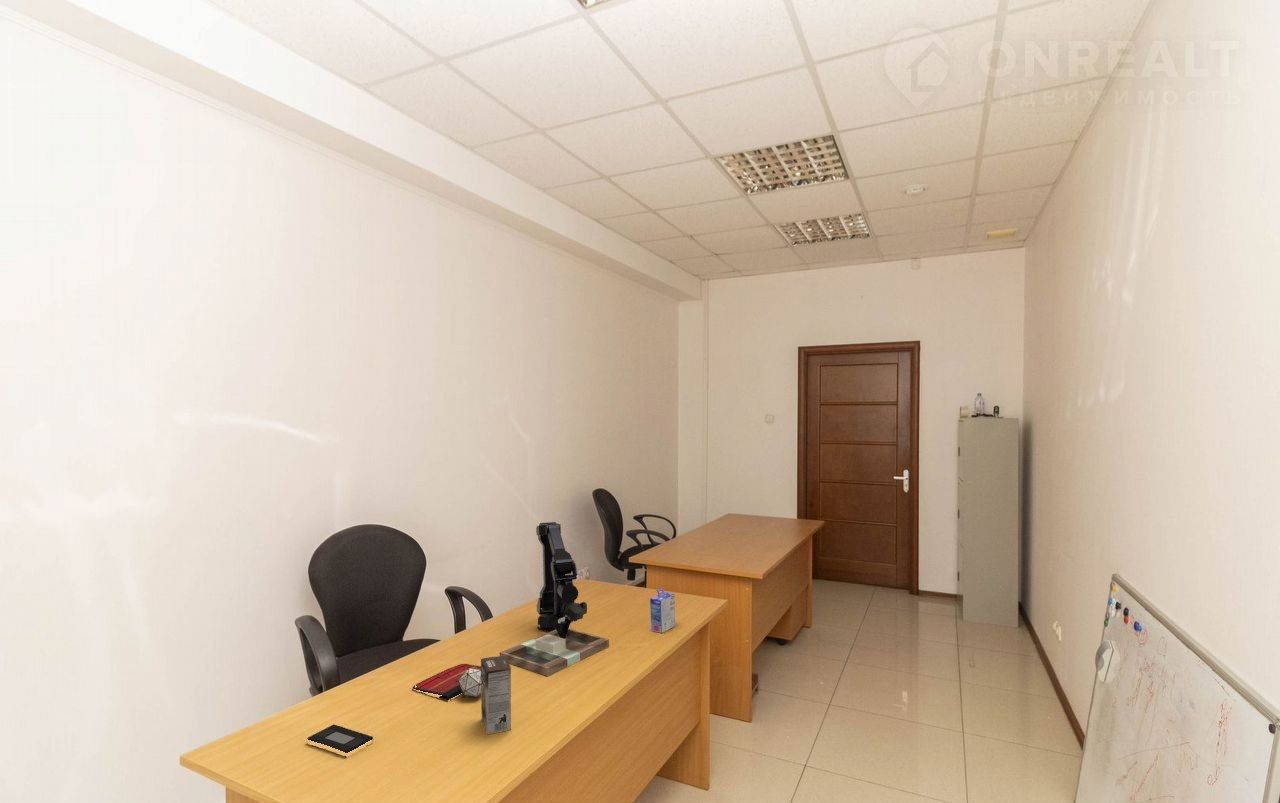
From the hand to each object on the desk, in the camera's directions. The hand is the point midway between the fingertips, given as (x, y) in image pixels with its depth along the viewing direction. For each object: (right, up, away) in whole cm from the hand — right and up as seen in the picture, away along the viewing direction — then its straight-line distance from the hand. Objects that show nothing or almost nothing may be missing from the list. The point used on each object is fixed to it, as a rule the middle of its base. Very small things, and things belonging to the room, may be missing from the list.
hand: (562, 639), depth 214 cm
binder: (-30, -4, -25) cm, 39 cm away
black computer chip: (-48, -4, -60) cm, 77 cm away
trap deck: (-2, -3, -3) cm, 5 cm away
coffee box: (-11, -3, -51) cm, 52 cm away
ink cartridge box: (+35, -4, +20) cm, 41 cm away
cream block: (-4, -1, -5) cm, 6 cm away
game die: (-22, -3, -35) cm, 41 cm away
